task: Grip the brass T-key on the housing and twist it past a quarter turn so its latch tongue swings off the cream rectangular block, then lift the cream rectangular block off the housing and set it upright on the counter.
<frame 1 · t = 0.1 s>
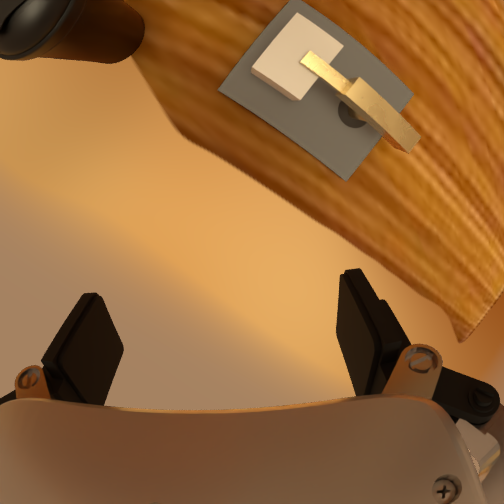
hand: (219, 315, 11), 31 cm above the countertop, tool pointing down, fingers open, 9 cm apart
water bottle: (115, 35, 30), on the countertop
cream rectangular block: (290, 61, 31), point 2 cm above the countertop, touching housing
key: (352, 98, 29), point 7 cm above the countertop, hinge at 0.0°
housing: (320, 86, 35), on the countertop
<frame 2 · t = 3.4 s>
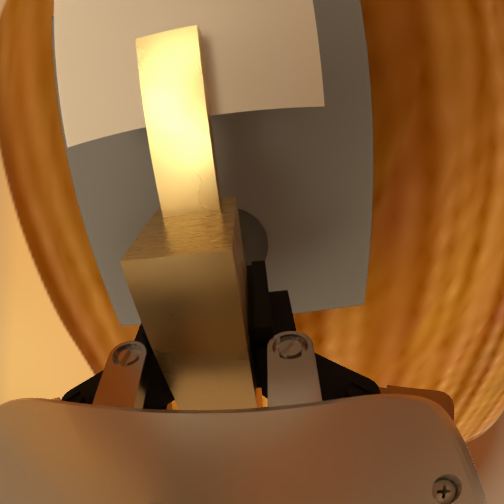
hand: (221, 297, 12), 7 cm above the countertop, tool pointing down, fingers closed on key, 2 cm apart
cream rectangular block: (201, 54, 12), point 2 cm above the countertop, touching housing
key: (210, 244, 11), point 7 cm above the countertop, hinge at 0.0°, touching gripper
housing: (216, 147, 16), on the countertop
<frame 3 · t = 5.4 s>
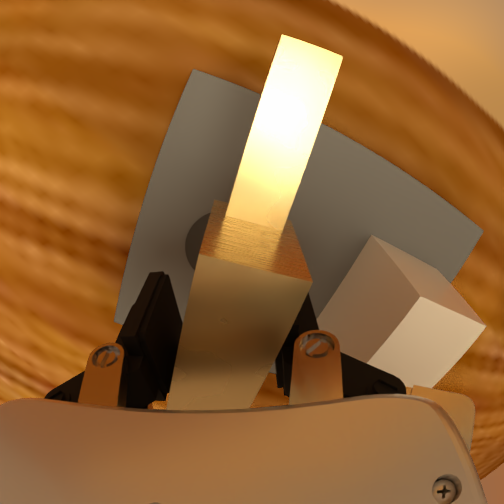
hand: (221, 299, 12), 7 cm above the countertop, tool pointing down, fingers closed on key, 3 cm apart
cream rectangular block: (373, 304, 19), point 2 cm above the countertop, touching housing
key: (236, 250, 11), point 7 cm above the countertop, hinge at 97.3°, touching gripper
housing: (302, 263, 19), on the countertop
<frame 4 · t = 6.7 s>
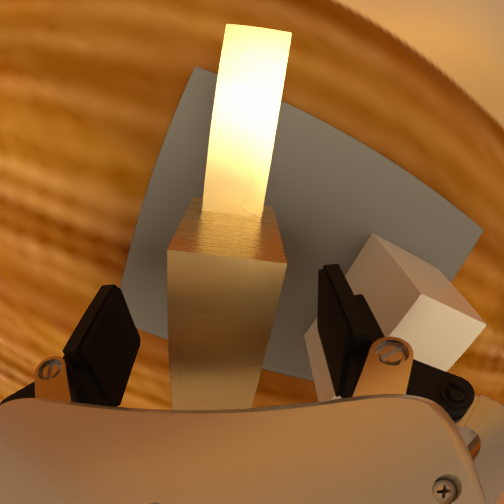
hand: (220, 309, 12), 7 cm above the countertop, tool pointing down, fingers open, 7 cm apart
cream rectangular block: (373, 302, 19), point 2 cm above the countertop, touching housing
key: (227, 244, 11), point 7 cm above the countertop, hinge at 106.0°
housing: (302, 261, 19), on the countertop
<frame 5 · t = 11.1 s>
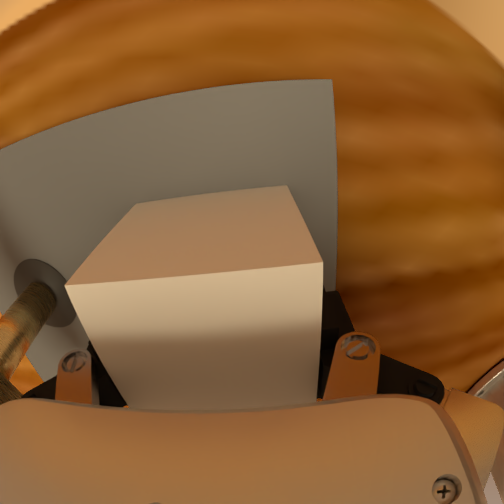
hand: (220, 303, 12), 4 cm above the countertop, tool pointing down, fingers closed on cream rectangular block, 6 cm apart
cream rectangular block: (223, 281, 14), point 2 cm above the countertop, touching gripper, housing
housing: (132, 268, 15), on the countertop
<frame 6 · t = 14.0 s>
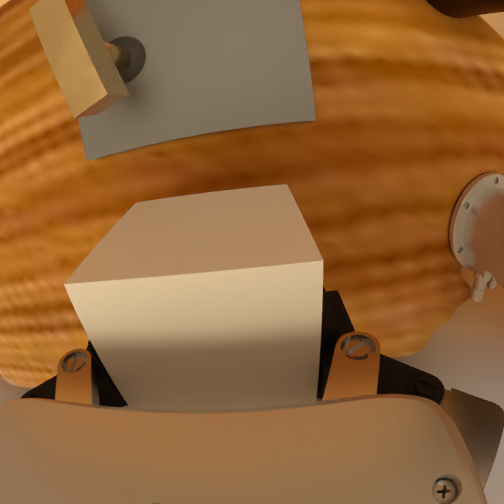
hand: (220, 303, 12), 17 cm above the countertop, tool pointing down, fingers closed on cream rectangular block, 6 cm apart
cream rectangular block: (223, 281, 13), point 16 cm above the countertop, touching gripper
key: (84, 28, 15), point 7 cm above the countertop, hinge at 106.7°
housing: (183, 48, 22), on the countertop
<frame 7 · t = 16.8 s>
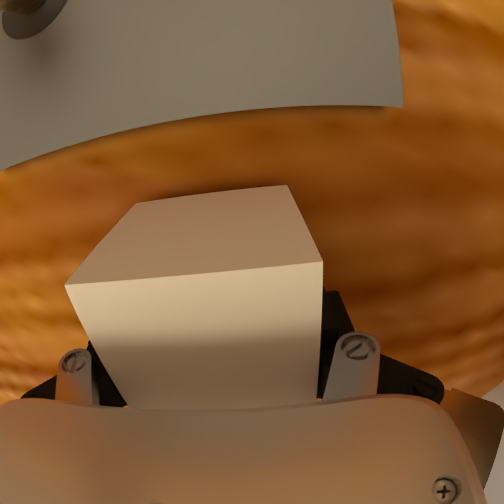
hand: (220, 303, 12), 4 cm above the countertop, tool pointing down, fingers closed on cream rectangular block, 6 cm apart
cream rectangular block: (222, 281, 13), point 2 cm above the countertop, touching gripper
when the fingers open (4 cm above the countertop, at t = 17.3 s): cream rectangular block drops 2 cm, on the countertop.
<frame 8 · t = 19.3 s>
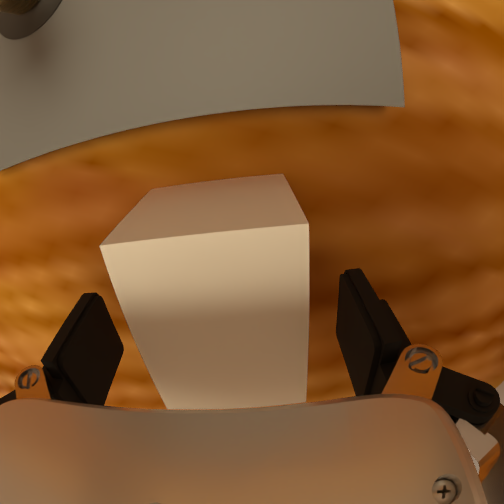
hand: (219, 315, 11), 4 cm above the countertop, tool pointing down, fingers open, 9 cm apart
cream rectangular block: (226, 258, 15), on the countertop
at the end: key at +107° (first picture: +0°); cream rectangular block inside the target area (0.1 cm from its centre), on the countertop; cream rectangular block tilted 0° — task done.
